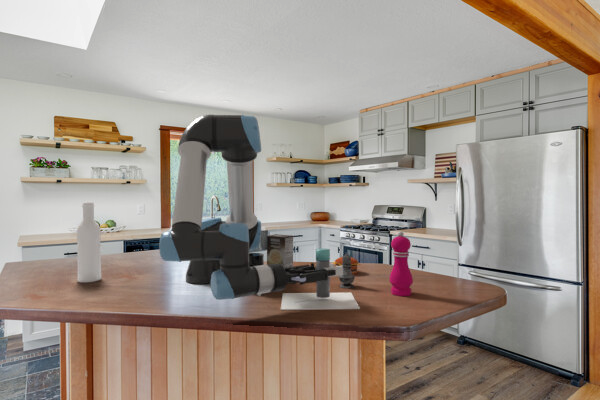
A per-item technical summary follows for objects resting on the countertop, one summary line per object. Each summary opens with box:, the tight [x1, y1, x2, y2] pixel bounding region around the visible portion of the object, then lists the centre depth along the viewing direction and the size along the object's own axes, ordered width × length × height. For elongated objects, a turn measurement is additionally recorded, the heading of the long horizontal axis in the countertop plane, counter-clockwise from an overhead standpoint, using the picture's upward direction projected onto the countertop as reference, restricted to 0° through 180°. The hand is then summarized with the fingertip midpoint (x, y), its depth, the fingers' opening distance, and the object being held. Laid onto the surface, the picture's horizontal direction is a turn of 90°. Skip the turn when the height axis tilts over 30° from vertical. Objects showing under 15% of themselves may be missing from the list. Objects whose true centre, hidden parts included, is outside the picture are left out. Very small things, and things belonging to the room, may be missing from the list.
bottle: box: [76, 201, 102, 283], centre depth 137 cm, size 8×8×30 cm
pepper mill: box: [389, 231, 414, 297], centre depth 114 cm, size 7×7×20 cm
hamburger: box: [332, 256, 362, 276], centre depth 146 cm, size 9×10×7 cm
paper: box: [280, 292, 361, 311], centre depth 107 cm, size 22×16×1 cm
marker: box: [315, 248, 331, 298], centre depth 107 cm, size 4×4×14 cm
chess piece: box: [338, 251, 356, 289], centre depth 124 cm, size 6×6×12 cm
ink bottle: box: [249, 252, 265, 267], centre depth 121 cm, size 10×9×12 cm
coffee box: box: [266, 233, 294, 267], centre depth 142 cm, size 9×6×16 cm
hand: (337, 269), depth 110 cm, fingers closed on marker, 4 cm apart
